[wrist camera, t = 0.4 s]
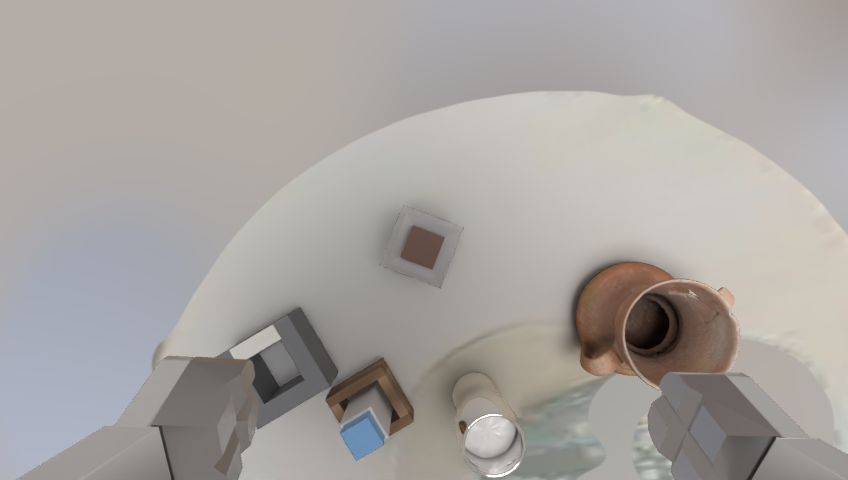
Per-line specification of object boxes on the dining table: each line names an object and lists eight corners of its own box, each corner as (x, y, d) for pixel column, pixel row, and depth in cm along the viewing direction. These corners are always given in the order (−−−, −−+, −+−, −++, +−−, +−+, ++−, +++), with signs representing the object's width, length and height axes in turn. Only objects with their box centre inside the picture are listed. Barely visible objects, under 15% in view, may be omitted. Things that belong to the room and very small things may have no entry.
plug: (393, 404, 60) (387, 445, 48) (367, 419, 60) (355, 465, 48) (377, 378, 60) (368, 413, 48) (351, 394, 60) (336, 432, 48)
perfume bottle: (434, 277, 60) (443, 293, 42) (387, 259, 60) (375, 268, 42) (452, 230, 60) (469, 226, 42) (405, 212, 60) (401, 200, 42)
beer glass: (451, 423, 60) (464, 484, 45) (445, 372, 60) (455, 416, 45) (503, 416, 60) (532, 475, 45) (496, 365, 60) (524, 407, 45)
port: (338, 371, 60) (329, 387, 54) (273, 410, 60) (257, 430, 54) (299, 307, 60) (286, 315, 54) (234, 345, 60) (213, 358, 53)
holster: (413, 409, 60) (413, 421, 56) (361, 440, 60) (358, 454, 56) (383, 358, 60) (380, 366, 56) (331, 388, 60) (325, 399, 56)
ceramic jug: (653, 238, 61) (723, 237, 47) (703, 333, 61) (787, 362, 47) (535, 299, 61) (568, 318, 47) (584, 394, 61) (633, 442, 47)
